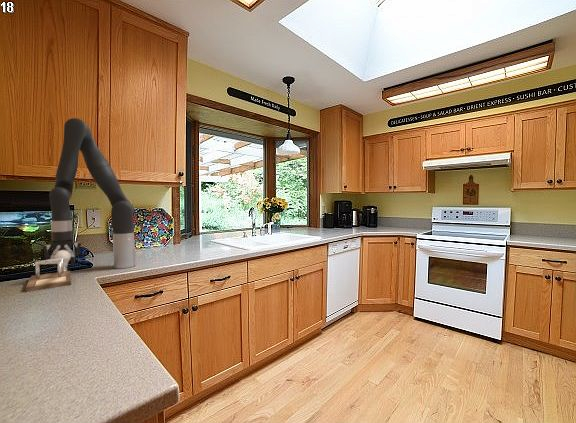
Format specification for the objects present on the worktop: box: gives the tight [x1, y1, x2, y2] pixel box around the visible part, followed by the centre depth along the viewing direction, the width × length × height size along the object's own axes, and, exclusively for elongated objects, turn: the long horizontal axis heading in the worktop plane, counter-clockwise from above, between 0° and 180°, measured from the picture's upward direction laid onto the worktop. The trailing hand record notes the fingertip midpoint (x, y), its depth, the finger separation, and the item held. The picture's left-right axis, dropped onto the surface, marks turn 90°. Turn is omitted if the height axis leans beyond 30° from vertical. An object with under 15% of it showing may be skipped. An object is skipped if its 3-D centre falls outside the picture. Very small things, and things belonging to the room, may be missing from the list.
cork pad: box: [35, 276, 66, 286], centre depth 108 cm, size 9×7×1 cm
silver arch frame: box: [34, 257, 64, 279], centre depth 115 cm, size 9×9×7 cm
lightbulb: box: [54, 250, 72, 272], centre depth 127 cm, size 6×6×11 cm
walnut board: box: [25, 270, 72, 292], centre depth 112 cm, size 13×20×2 cm, turn 39°
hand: (63, 265), depth 127 cm, fingers closed on lightbulb, 6 cm apart
